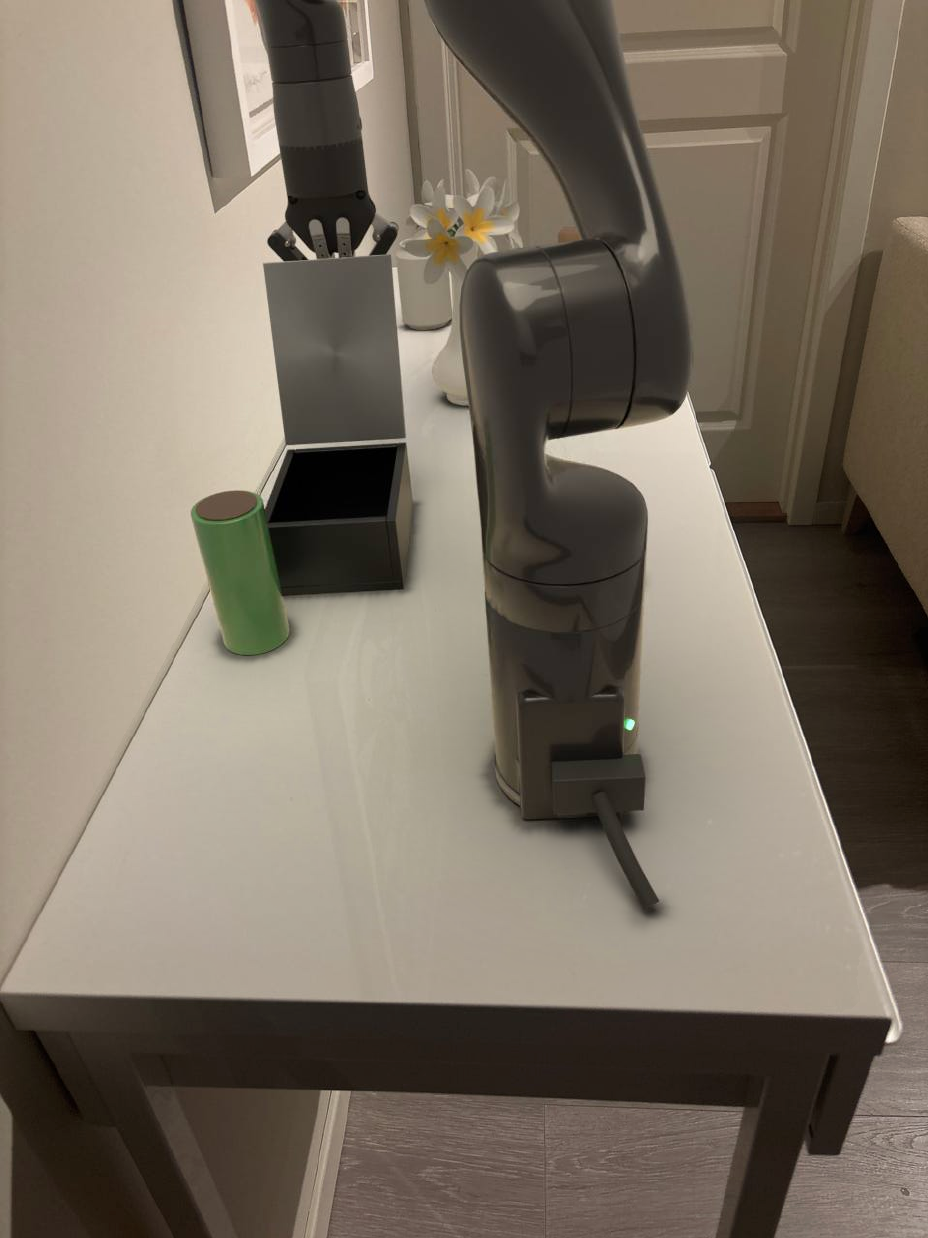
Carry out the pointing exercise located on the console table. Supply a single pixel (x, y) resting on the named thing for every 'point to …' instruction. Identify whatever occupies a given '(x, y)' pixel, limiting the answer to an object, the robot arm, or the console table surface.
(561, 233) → the wooden block
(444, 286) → the can
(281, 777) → the console table surface
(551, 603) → the robot arm
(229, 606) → the green cylinder
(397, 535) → the dark grey open box
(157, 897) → the console table surface
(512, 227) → the flower vase
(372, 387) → the lid
